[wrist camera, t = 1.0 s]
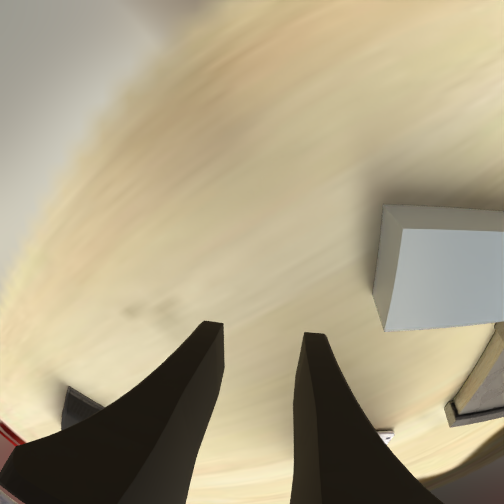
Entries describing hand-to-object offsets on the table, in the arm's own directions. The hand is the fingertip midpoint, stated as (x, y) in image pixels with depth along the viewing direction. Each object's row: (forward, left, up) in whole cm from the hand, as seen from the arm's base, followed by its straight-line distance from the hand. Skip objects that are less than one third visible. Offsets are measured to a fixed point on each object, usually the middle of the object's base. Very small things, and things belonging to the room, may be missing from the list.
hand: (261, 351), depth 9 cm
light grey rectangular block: (0, -11, -10) cm, 15 cm away
